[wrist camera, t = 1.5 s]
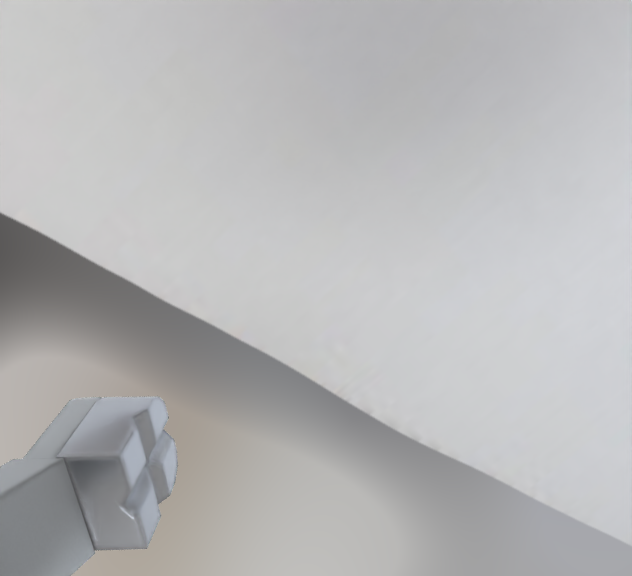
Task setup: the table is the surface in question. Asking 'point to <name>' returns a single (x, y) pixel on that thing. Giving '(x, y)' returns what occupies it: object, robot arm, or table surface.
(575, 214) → the table surface
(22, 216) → the table surface
